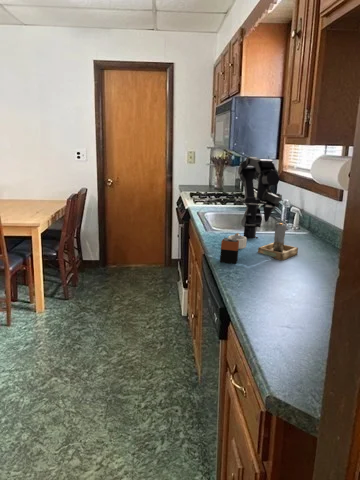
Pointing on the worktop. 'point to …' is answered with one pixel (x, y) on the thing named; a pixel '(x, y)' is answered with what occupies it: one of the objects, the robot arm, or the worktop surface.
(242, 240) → the cup
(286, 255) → the wooden tray
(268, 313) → the worktop surface
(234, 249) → the battery
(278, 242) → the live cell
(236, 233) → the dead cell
